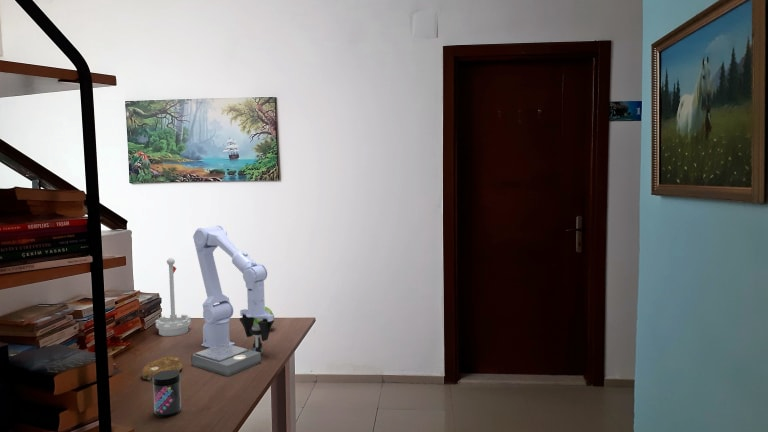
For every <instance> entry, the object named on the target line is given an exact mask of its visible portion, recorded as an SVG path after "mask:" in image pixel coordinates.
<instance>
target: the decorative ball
mask: <svg viewBox="0 0 768 432" xmlns="http://www.w3.org/2000/svg"><path fill="white" fill-rule="evenodd" d="M265 312H267V313H269V314H271V315H273V320H274V321H275V315H274V313H273V311H272V309H270V308H269V307H268V306H265ZM260 321H263V320H262V319H258V318H255V319H254V323H253V325H259V324H258V322H260Z"/></svg>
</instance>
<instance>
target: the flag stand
mask: <svg viewBox="0 0 768 432" xmlns="http://www.w3.org/2000/svg"><path fill="white" fill-rule="evenodd" d="M166 263H167V265H168V271H169V272H168V275H169V276H168V277H169V279H168V280H169V297H170V302H169V303H170V314H169V318H166V316H160V317H159V318H158V319H156V320H155V328H156V329H158V334H159V336H163V337H175V336H180V335H184V334H186V333H188V332H189V326H190V325H191V324H192V320H191V319H192V318H191V316H190V315H188V314H181V316H178V315H177V314H176V307H175V306H176V305H175V304H176V303H175V301H176V300H175V283H174V282H175V280H174V273H175V271H176V270H177V267H176V266H174V265H175V259H174V258H173V257H170V258H168V259H167V260H166Z"/></svg>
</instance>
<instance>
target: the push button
mask: <svg viewBox="0 0 768 432" xmlns="http://www.w3.org/2000/svg"><path fill="white" fill-rule="evenodd" d="M249 331H250V334H251V335H253V336H252V337H254V340H253V342H254V343H253V344H252V348H253V349H252V351H256V352H260V353H261V354H262V353H263V343H262V342H261V341H262V339H261V330H260V326H259V325H253V326H252V328H250V329H249Z"/></svg>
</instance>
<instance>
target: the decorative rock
mask: <svg viewBox="0 0 768 432" xmlns="http://www.w3.org/2000/svg"><path fill="white" fill-rule="evenodd" d="M182 368H183V364H182V363H181V362H180V357H178V356H176V357H175V356H163V357H161V358H158V359H156V360H154V361H150V362H148V363H147V364H145V366H144V367H143V368H142V369H141V372H140V374H141V377H142V379H143V380H148V381H149V383H153V375H154V374H156V373H158V372H161V371H165V370H177V371H179V372H180V371H181V369H182Z"/></svg>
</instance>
